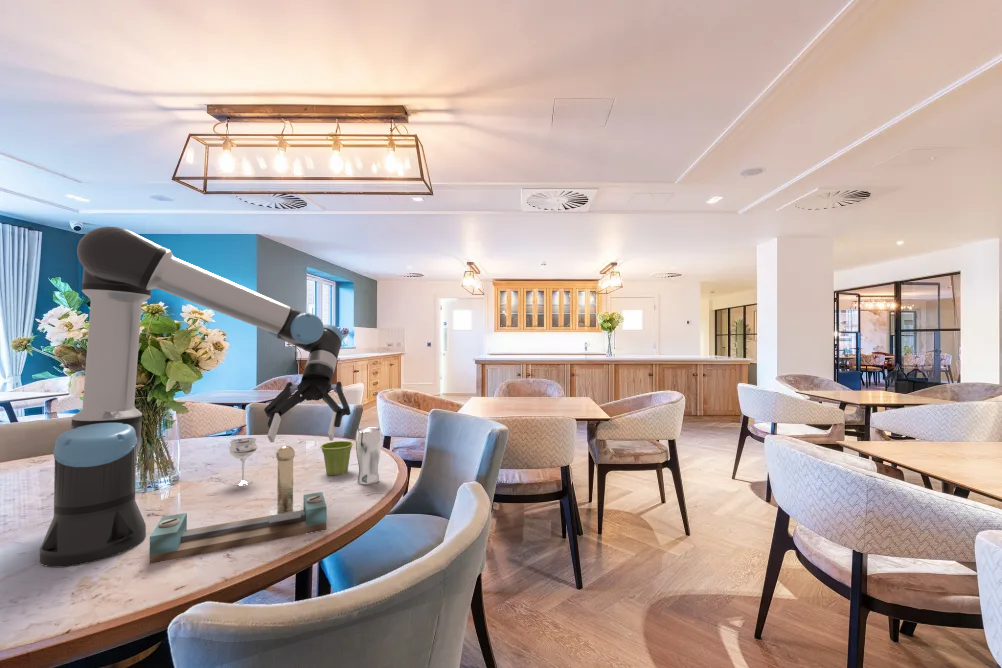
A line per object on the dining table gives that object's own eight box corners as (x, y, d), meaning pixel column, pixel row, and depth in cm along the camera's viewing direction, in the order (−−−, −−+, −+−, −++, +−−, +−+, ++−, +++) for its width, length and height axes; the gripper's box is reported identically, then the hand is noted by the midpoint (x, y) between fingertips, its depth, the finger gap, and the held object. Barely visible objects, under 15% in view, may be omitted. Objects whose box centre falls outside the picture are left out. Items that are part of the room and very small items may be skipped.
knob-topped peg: (269, 523, 88) (269, 449, 89) (269, 514, 93) (269, 444, 93) (300, 517, 91) (301, 446, 91) (299, 509, 96) (300, 441, 96)
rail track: (149, 564, 78) (149, 533, 78) (162, 541, 86) (162, 513, 86) (326, 529, 92) (326, 503, 92) (322, 513, 100) (322, 489, 100)
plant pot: (338, 479, 125) (338, 449, 125) (313, 475, 128) (313, 446, 128) (359, 470, 134) (359, 442, 134) (335, 466, 137) (335, 439, 137)
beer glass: (365, 487, 118) (365, 433, 118) (350, 482, 122) (351, 429, 122) (386, 480, 124) (386, 428, 124) (371, 476, 128) (371, 426, 128)
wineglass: (226, 482, 122) (227, 440, 122) (253, 477, 127) (253, 436, 127) (231, 488, 117) (231, 444, 117) (259, 482, 122) (259, 440, 122)
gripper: (368, 379, 121) (357, 445, 106) (275, 380, 118) (249, 448, 103) (364, 361, 116) (352, 428, 101) (267, 362, 113) (239, 431, 97)
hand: (300, 438), depth 102 cm, fingers open, 13 cm apart
